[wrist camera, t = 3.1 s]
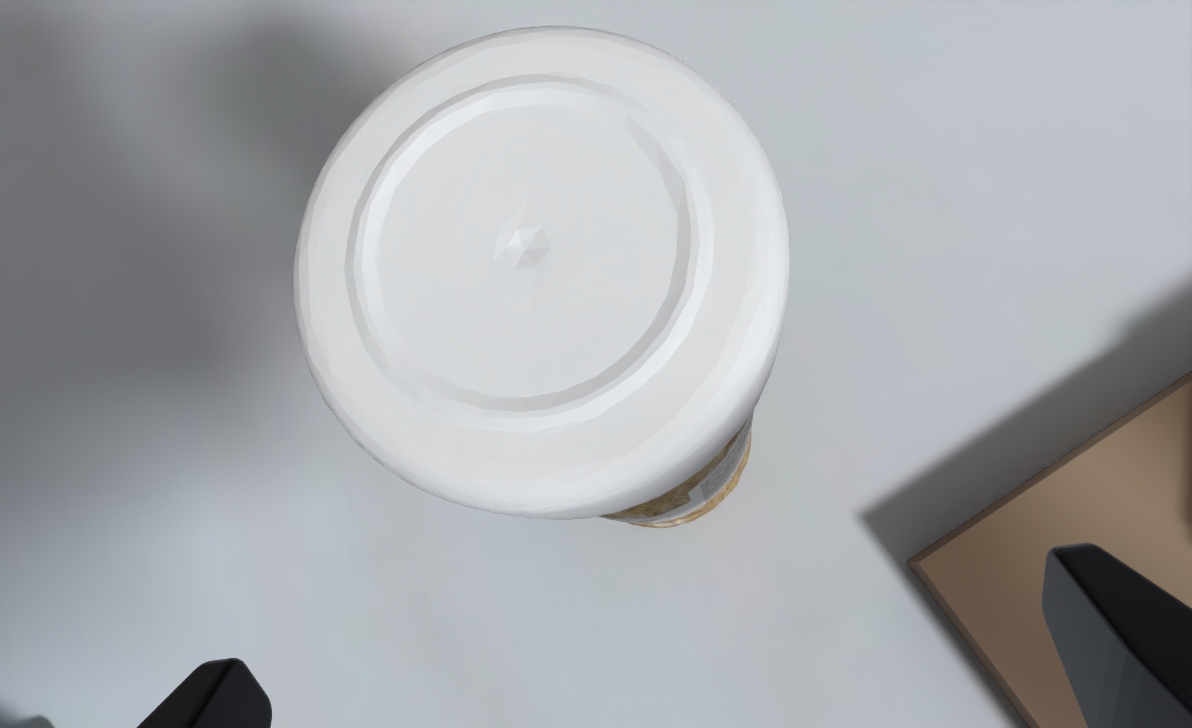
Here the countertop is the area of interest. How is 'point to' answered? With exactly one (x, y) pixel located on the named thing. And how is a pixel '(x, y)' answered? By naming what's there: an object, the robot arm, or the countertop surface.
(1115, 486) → the board
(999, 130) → the countertop surface
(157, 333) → the countertop surface
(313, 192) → the sprinkles bottle
